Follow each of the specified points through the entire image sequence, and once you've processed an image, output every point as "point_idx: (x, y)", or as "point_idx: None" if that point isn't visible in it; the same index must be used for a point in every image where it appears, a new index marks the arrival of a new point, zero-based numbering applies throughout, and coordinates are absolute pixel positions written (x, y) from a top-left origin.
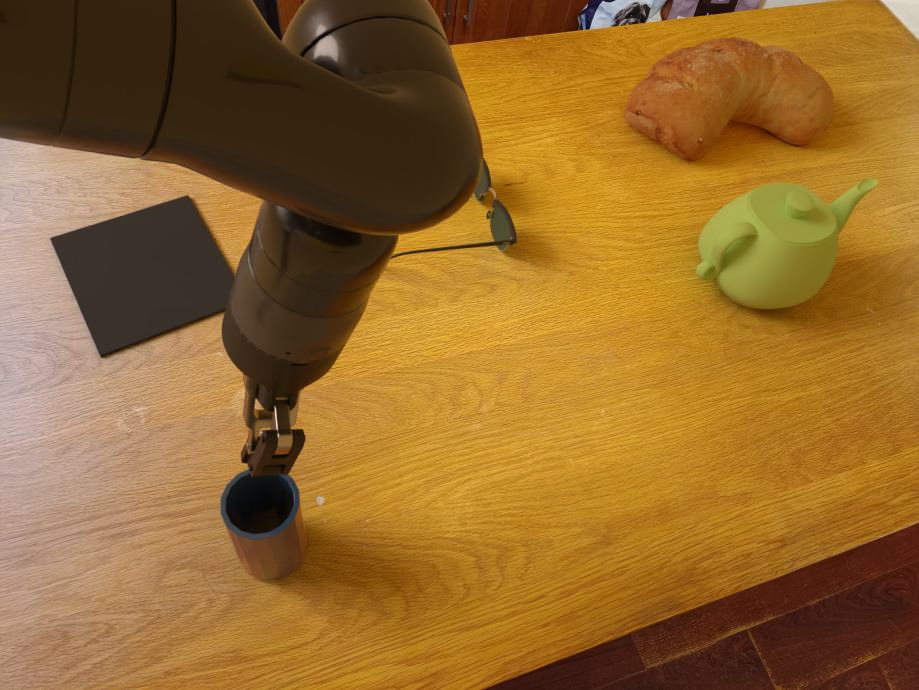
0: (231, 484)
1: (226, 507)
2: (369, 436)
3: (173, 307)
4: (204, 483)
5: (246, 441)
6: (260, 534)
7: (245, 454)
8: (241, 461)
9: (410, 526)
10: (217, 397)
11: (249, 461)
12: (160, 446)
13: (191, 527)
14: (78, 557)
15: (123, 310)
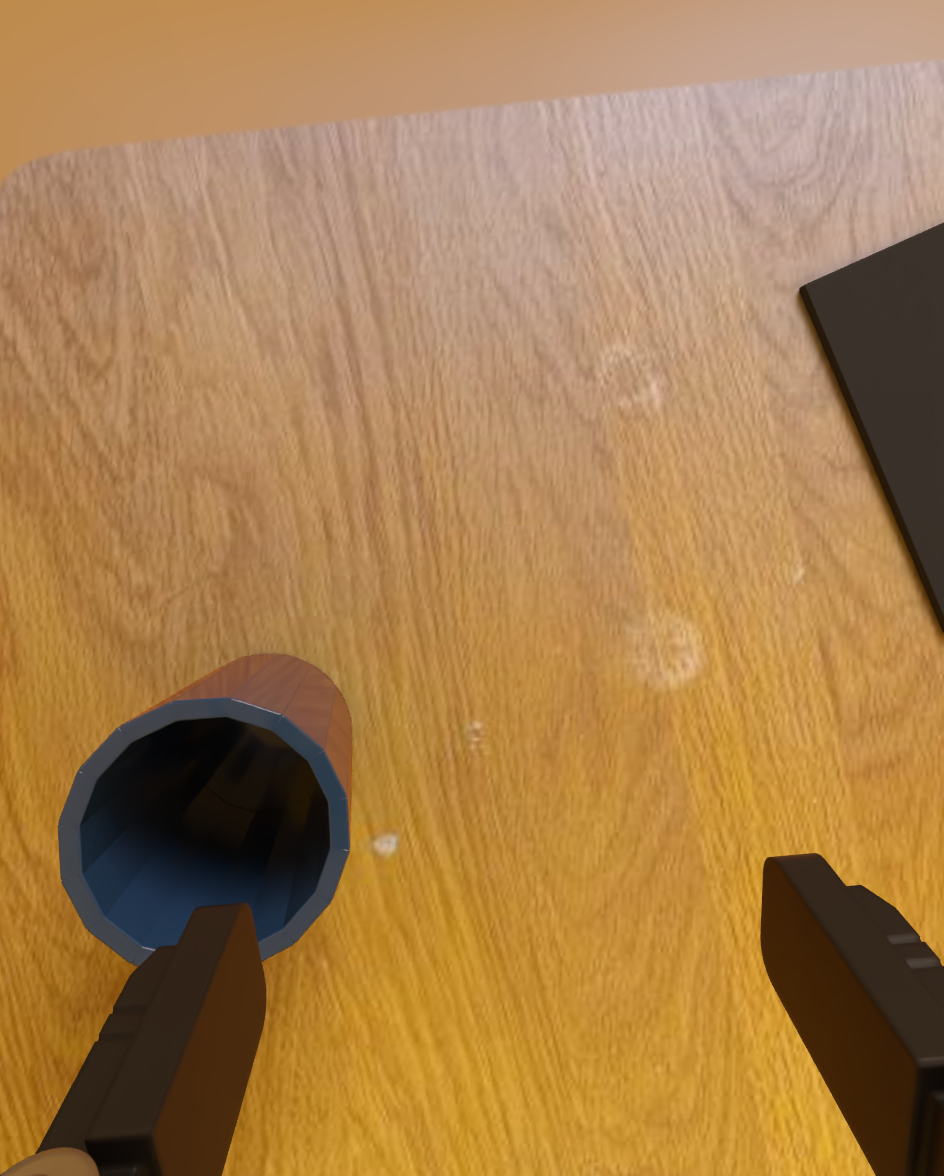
0: (283, 731)
1: (198, 718)
2: (552, 960)
3: (933, 451)
4: (448, 559)
5: (164, 1082)
6: (75, 850)
7: (146, 1012)
8: (191, 915)
9: (300, 1073)
10: (678, 575)
11: (144, 997)
12: (553, 448)
13: (335, 537)
14: (278, 283)
15: (928, 330)
